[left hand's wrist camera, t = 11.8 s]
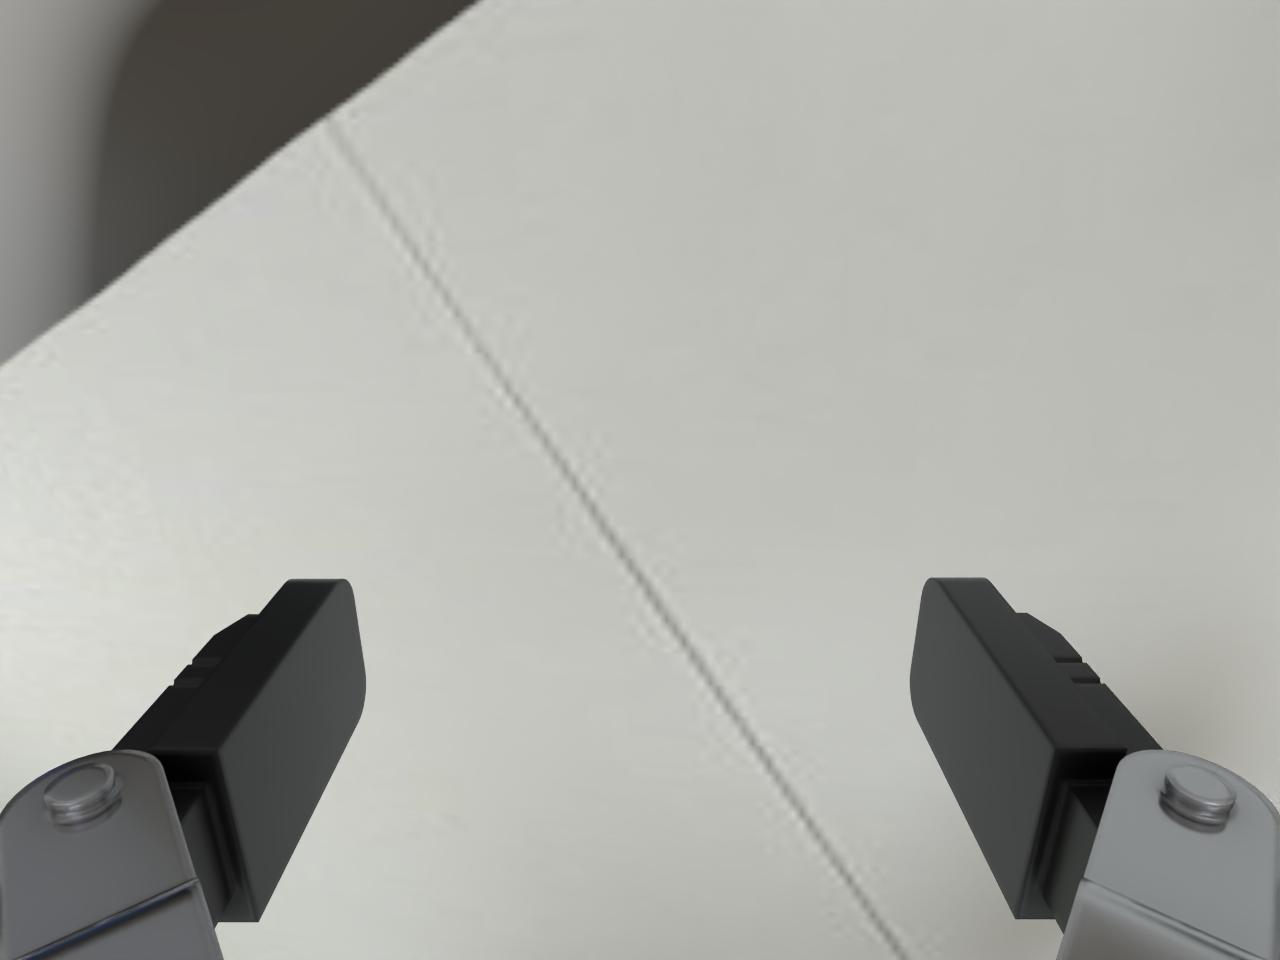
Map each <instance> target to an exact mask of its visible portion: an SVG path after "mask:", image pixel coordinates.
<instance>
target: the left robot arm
mask: <svg viewBox="0 0 1280 960" xmlns="http://www.w3.org/2000/svg"><path fill="white" fill-rule="evenodd" d="M365 693H366V674H365V667H364V660H363V653H362V646H361V640H360V633H359V626H358V620H357V613H356V606H355V599H354V594H353V590H352V587H351V585H350V583H349V582H348V581H347V580H346V579H290V580H288V581H287V582H286V583H285V584H284V585H283V586H282V587H281V588H280V590H279V591H278V592H277V593H276V594H275V596H274V597H273V598H272V599H271V600H270V602H269V603H268V604H267V605H266V606H265V608H264V609H263V610H262V611H261V612H260V614H248V615H246V616H245V617H243V618H241V619H240V620H238V621H236V622H235V623H233V624H232V625H230V626H228V627H227V628H225V629H224V630H222V631H220V632H219V633H217V634H215V635H214V636H213V637H212V638H211V639H210V640H209V642H208V643H207V644H206V645H205V646H204V647H203V648H202V649H201V651H200V652H199V653H198V654H197V655H196V656H195V657H194V658H193V660H192V665H187V666H186V667H185V668H184V670H183V671H182V672H181V673H180V674H179V675H178V676H177V677H176V679H175V680H174V685H173V686H168V688H167V689H166V690H165V691H164V692H163V693H162V694H161V695H160V697H159V698H158V699H157V700H156V701H155V702H154V703H153V704H152V705H151V707H150V708H149V709H148V710H147V711H146V712H145V713H144V714H143V716H142V717H141V718H140V719H139V720H138V721H137V722H136V723H135V725H134V726H133V727H132V728H131V729H130V730H129V731H128V732H127V733H126V735H125V736H124V737H123V738H122V739H121V740H120V741H119V742H118V744H117V745H116V746H115V747H114V748H113V749H112V750H111V751H104V752H100V753H95V754H91V755H87V756H84V757H81V758H78V759H75V760H73V761H70V762H67V763H65V764H63V765H61V766H58V767H56V768H54V769H52V770H50V771H48V772H47V773H45V774H43V775H42V776H40V777H38V778H37V779H35V780H34V781H32V782H31V783H30V784H28V785H27V786H25V787H24V788H23V789H22V790H21V791H19V792H18V793H17V794H16V795H15V796H14V797H13V798H12V799H11V800H10V801H9V802H8V804H7V805H6V806H5V808H4V809H3V811H2V812H1V814H0V960H224V959H223V955H222V952H221V949H220V946H219V942H218V939H217V936H216V933H215V927H216V925H217V923H218V922H259V920H260V918H261V916H262V914H263V912H264V910H265V908H266V906H267V904H268V902H269V900H270V898H271V896H272V894H273V892H274V890H275V888H276V886H277V884H278V882H279V880H280V878H281V876H282V874H283V872H284V870H285V868H286V866H287V864H288V862H289V860H290V858H291V856H292V854H293V852H294V850H295V848H296V846H297V844H298V842H299V840H300V838H301V836H302V834H303V832H304V830H305V828H306V826H307V824H308V822H309V820H310V818H311V816H312V814H313V812H314V810H315V808H316V806H317V804H318V802H319V800H320V798H321V796H322V794H323V792H324V790H325V788H326V786H327V784H328V782H329V780H330V778H331V776H332V774H333V772H334V770H335V768H336V766H337V764H338V762H339V760H340V758H341V756H342V754H343V752H344V750H345V748H346V746H347V744H348V742H349V740H350V738H351V736H352V734H353V732H354V730H355V728H356V726H357V724H358V722H359V720H360V717H361V714H362V711H363V707H364V701H365ZM910 693H911V700H912V706H913V710H914V713H915V716H916V718H917V721H918V723H919V725H920V727H921V729H922V731H923V733H924V735H925V737H926V739H927V741H928V743H929V745H930V747H931V749H932V751H933V753H934V755H935V757H936V759H937V761H938V763H939V765H940V767H941V769H942V771H943V773H944V775H945V777H946V779H947V781H948V784H949V786H950V788H951V790H952V792H953V794H954V796H955V798H956V800H957V802H958V804H959V806H960V808H961V810H962V812H963V814H964V816H965V818H966V820H967V822H968V824H969V826H970V828H971V830H972V832H973V834H974V836H975V838H976V840H977V842H978V844H979V846H980V848H981V850H982V852H983V854H984V857H985V859H986V861H987V863H988V865H989V867H990V869H991V871H992V873H993V875H994V877H995V879H996V881H997V883H998V885H999V887H1000V889H1001V891H1002V893H1003V895H1004V897H1005V899H1006V901H1007V903H1008V905H1009V907H1010V909H1011V911H1012V913H1013V915H1014V917H1015V919H1056V921H1057V923H1058V925H1059V927H1060V929H1061V930H1062V932H1063V934H1064V936H1063V939H1062V942H1061V946H1060V949H1059V952H1058V955H1057V959H1056V960H1280V814H1279V812H1278V811H1277V809H1276V808H1275V806H1274V805H1273V804H1272V802H1271V801H1270V800H1269V799H1268V798H1267V797H1266V796H1265V795H1264V794H1263V793H1262V792H1260V791H1259V790H1258V789H1257V788H1256V787H1255V786H1253V785H1252V784H1250V783H1249V782H1248V781H1246V780H1245V779H1243V778H1242V777H1240V776H1238V775H1237V774H1235V773H1233V772H1232V771H1230V770H1228V769H1226V768H1224V767H1222V766H1219V765H1217V764H1215V763H1213V762H1210V761H1207V760H1205V759H1202V758H1199V757H1196V756H1193V755H1189V754H1185V753H1180V752H1176V751H1168V750H1163V749H1162V748H1161V747H1160V746H1159V744H1158V743H1157V742H1156V741H1155V740H1154V739H1153V738H1152V736H1151V735H1150V734H1149V733H1148V732H1147V731H1146V730H1145V729H1144V727H1143V726H1142V725H1141V724H1140V723H1139V722H1138V721H1137V719H1136V718H1135V717H1134V716H1133V715H1132V714H1131V713H1130V712H1129V710H1128V709H1127V708H1126V707H1125V706H1124V705H1123V704H1122V703H1121V701H1120V700H1119V699H1118V698H1117V697H1116V696H1115V695H1114V693H1113V692H1112V691H1111V690H1110V689H1109V688H1108V687H1107V686H1106V684H1101V683H1100V678H1099V677H1098V675H1097V674H1096V673H1095V672H1094V671H1093V670H1092V669H1091V667H1090V666H1089V665H1088V664H1087V663H1083V662H1082V657H1081V656H1080V655H1079V654H1078V653H1077V652H1076V651H1075V649H1074V648H1073V647H1072V646H1071V645H1070V644H1069V643H1068V641H1067V640H1066V639H1065V638H1064V637H1063V636H1062V635H1061V634H1060V633H1059V632H1057V631H1055V630H1054V629H1052V628H1051V627H1049V626H1047V625H1046V624H1044V623H1043V622H1041V621H1039V620H1038V619H1036V618H1034V617H1033V616H1031V615H1030V614H1028V613H1016V612H1015V611H1014V610H1013V609H1012V607H1011V606H1010V605H1009V604H1008V603H1007V601H1006V600H1005V599H1004V598H1003V597H1002V595H1001V594H1000V593H999V592H998V590H997V589H996V588H995V587H994V586H993V584H992V583H991V582H990V581H989V580H988V579H986V578H929V579H928V580H927V581H926V583H925V585H924V588H923V591H922V596H921V603H920V610H919V616H918V623H917V630H916V637H915V644H914V651H913V657H912V664H911V672H910Z"/></svg>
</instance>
